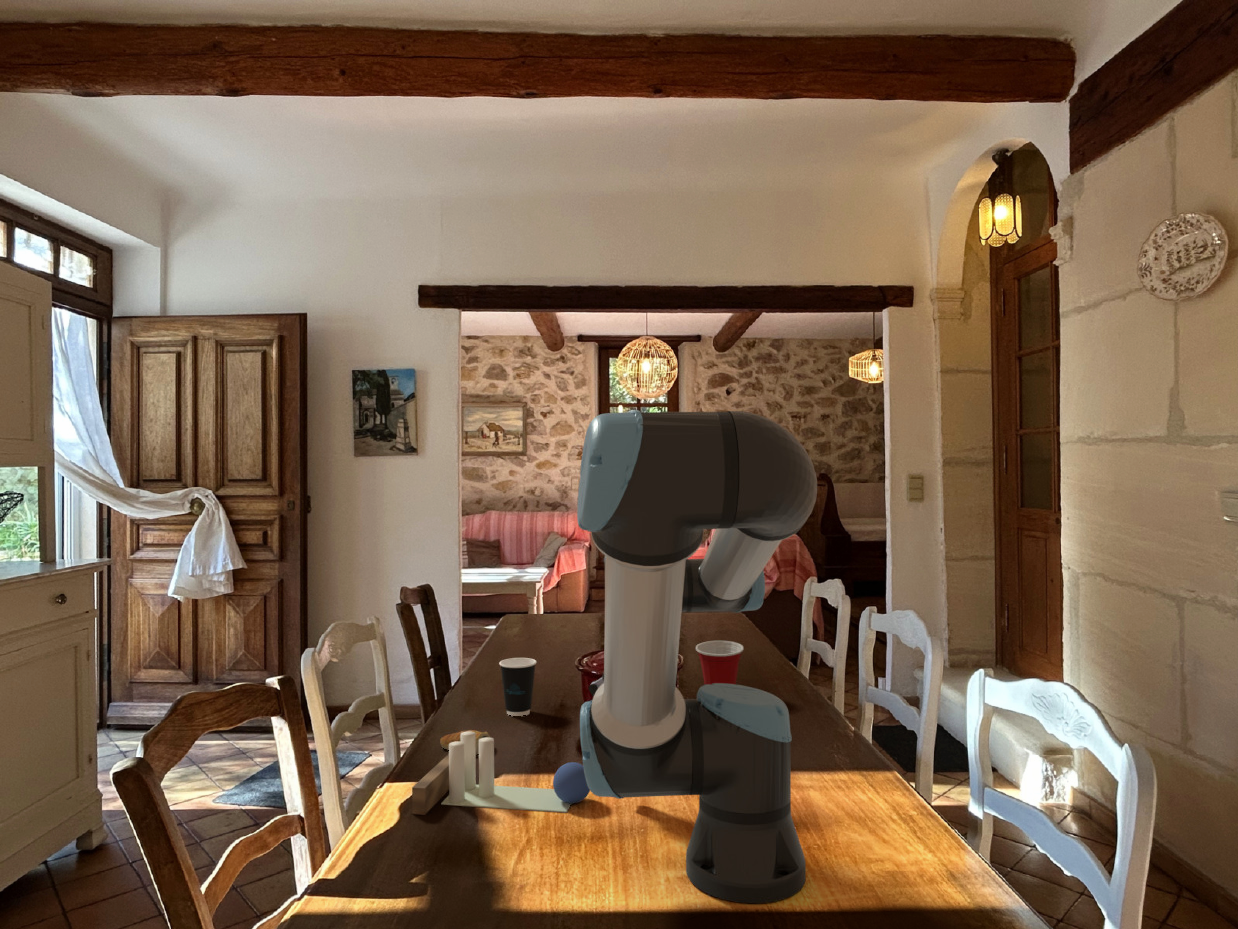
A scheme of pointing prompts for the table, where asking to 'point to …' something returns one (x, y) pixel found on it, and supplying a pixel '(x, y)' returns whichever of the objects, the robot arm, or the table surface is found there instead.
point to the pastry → (456, 737)
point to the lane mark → (515, 799)
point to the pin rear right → (456, 772)
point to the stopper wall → (431, 788)
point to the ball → (571, 783)
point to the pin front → (486, 767)
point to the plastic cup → (719, 661)
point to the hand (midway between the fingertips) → (630, 791)
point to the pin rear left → (469, 759)
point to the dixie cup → (518, 684)
